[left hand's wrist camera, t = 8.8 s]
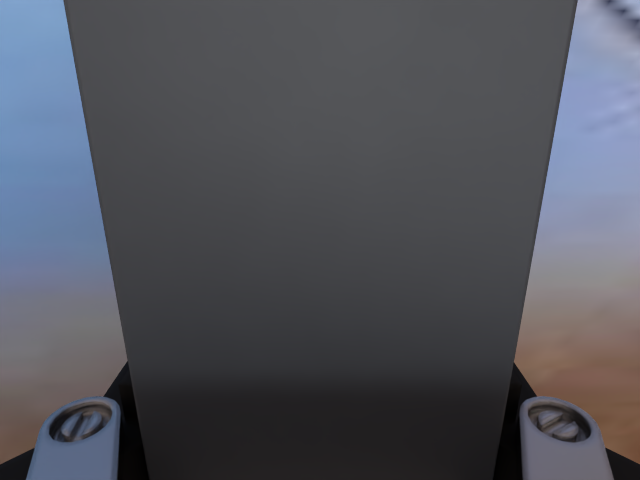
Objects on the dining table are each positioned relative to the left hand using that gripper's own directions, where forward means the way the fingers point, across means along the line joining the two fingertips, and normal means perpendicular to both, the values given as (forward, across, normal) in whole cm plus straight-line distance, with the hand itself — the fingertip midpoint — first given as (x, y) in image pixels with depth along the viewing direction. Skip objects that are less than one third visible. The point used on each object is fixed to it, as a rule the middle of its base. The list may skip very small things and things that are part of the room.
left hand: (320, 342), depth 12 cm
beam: (+1, 0, -24) cm, 25 cm away
